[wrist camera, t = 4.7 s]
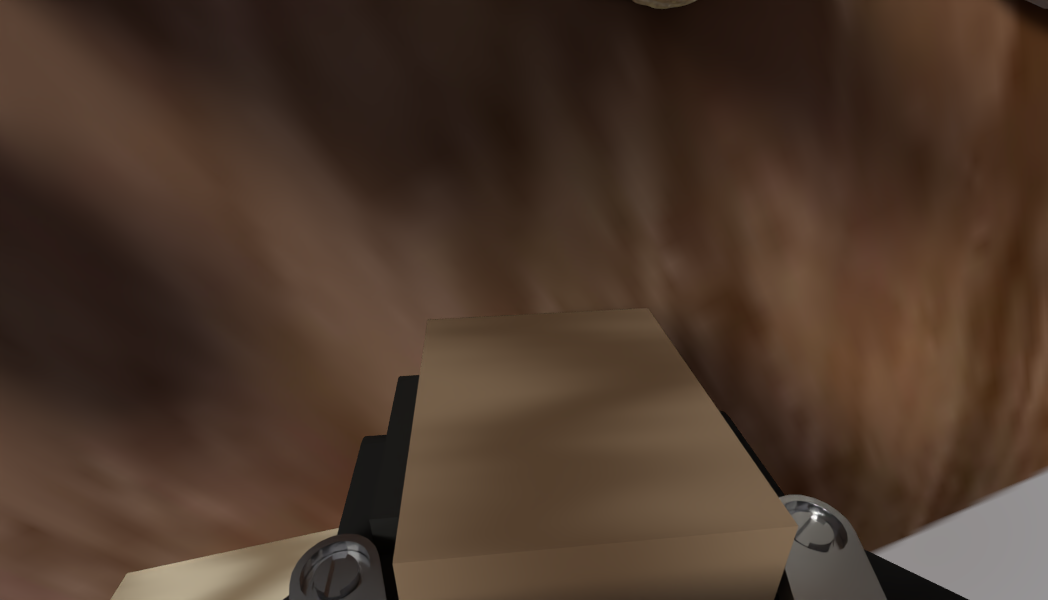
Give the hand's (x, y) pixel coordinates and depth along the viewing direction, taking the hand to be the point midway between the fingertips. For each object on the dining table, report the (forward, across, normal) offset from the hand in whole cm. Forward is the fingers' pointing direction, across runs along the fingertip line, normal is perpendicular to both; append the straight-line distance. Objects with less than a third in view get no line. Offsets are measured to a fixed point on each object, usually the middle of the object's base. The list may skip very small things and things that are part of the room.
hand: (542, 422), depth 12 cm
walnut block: (+1, 0, 0) cm, 1 cm away
